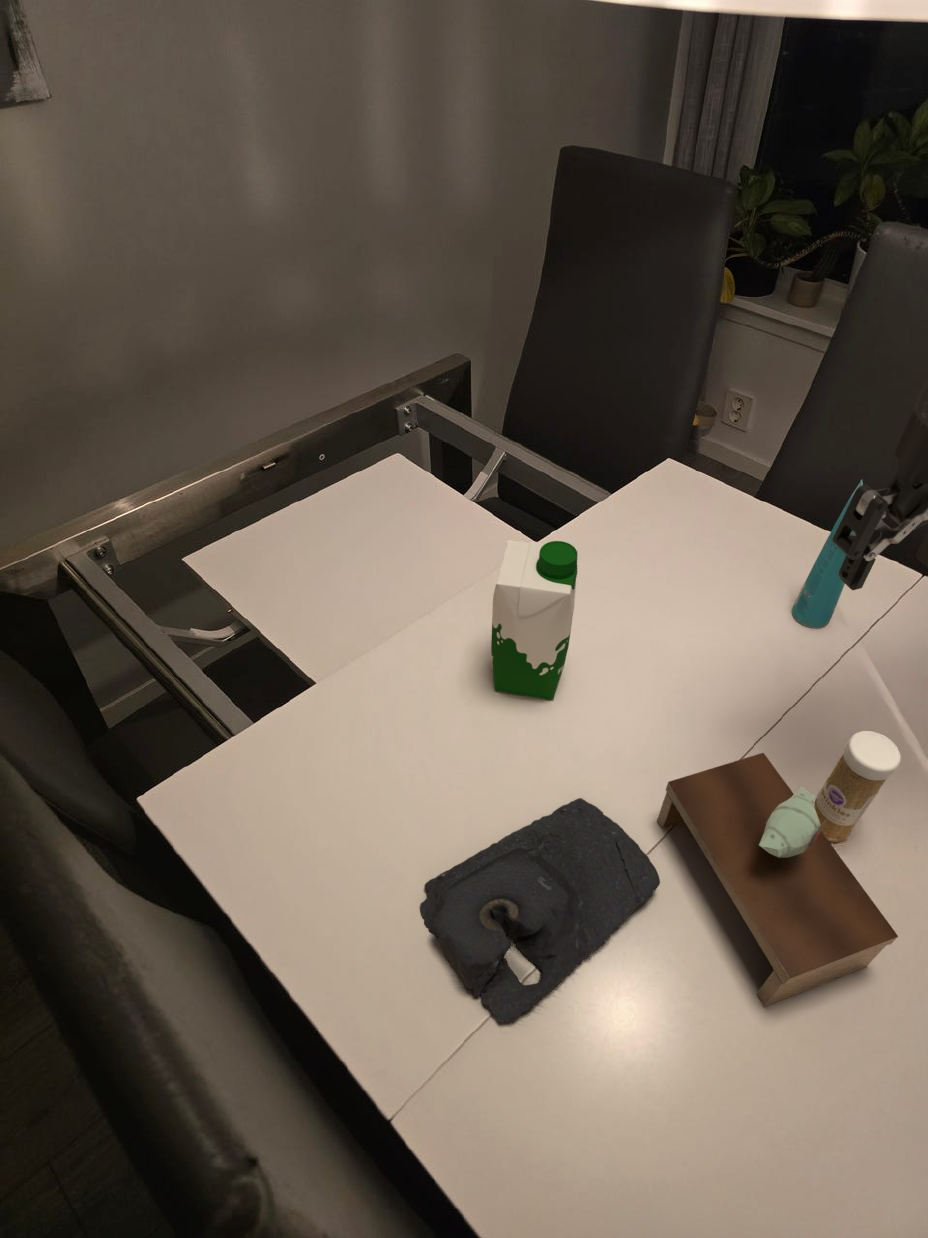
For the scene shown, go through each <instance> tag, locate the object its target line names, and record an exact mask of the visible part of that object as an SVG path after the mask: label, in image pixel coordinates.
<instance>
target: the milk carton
mask: <svg viewBox="0 0 928 1238" xmlns="http://www.w3.org/2000/svg"><path fill="white" fill-rule="evenodd" d="M578 555H579V554H578V548H577V547H575V546H574V545H573V544H571V543H569V542H566V541H563V540H562V541H561V540H552V541H548V542H546V543H542V542H539V541H529V542H528V541H521V540H514V539H507V541H506V545H505V549H504V553H503V556H502V561H501V564H500V568H499V571H498V575H497V579H496V583H495V587H494V591H493V595H492V614H491V616H492V617H491V641H490V656H491V667H492V677H493V686H494V692H496V693H497V692H498V693H504V694H509V695H515V696H516V695H517V696H520V697H521V696H523V697H529V698H534V699H535V698H536V699H542V700H547V701H554V699H555V695H556V692H557V689H558V685H559V682H560V680H561V676H562V674H563V670H564V667H565V664H566V659H567V655H568V651H569V647H570V638H571V632H572V624H573V619H574V618H573V617H574V610H575V600H576V588H577V585H576V584H577V576H578Z"/></svg>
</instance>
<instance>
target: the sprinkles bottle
mask: <svg viewBox="0 0 928 1238" xmlns="http://www.w3.org/2000/svg"><path fill="white" fill-rule="evenodd" d="M842 753H843V754H842V755H841V757H840V758H839V760H838V761H837V762H836V765H835V766H834V768H833V769H832V771H831V773H830V774H829V776H827V778H826V780H825V781H824V783H823V785H822V786H821V788H820V789H819V792H818V794H817V795H816V797H815V805H814V808H815V811H816V813H817V816H818V819H819V821H820V824H821V829H820V830H821V832H822V833H823V834H824V836H825V837H826V838H827V840H828V841H829V842H834V843H838V842H843V841H845V840H847V839H848V838H849V837H850V835H851V833H852V831H853V829H854V827H855V826H856V824H857V823H858V822H859V821H860V820H861V818H862V817H863V815H864V814H865V812H866V811H867V810H868V808H869V806H870V805H871V804H872V802H873V801H874V799H875V798H876V796H877V795H878V793H879V792H880V790H881V788H882V786H883V785H884V783H885V782H886V781H887V780H888V779H890V778H891V777H892V776H893V774H894V773H895V771H896V770H897V769H898V767H899V766H900V763H901V753H900V750H899V748H898V747H897V745H896V744H895V743H894V742H893V740H891V739H890V738H888V737H887V736H885V735H883V734H882V733H879V732H876V731H872V730H861V731H858V732H855V733H854V734H853V735H852V736H850V738H849V739H848V741H847V742H846V744H845V746H844V748H843V752H842Z"/></svg>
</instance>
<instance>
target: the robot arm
mask: <svg viewBox="0 0 928 1238" xmlns="http://www.w3.org/2000/svg"><path fill="white" fill-rule="evenodd" d="M896 444H897V445H896V447H895V448H894V457H895V461H896V473H895V474H894V476H893V478H892V479H891V480H890V481H889V482H888V483H887V485H886V486H885V488H879V489H875V490H874V489H872V488H871V487H870V486H869V485H867V484H863V485H862V486H860V487H859V488H858V489H857V490H856V491H855V490H854V491H855V493H854V495H853V497H852V499H851V501H850V503H849V506H848V508H847V510H846V512H845V514H844V516H843V518H842V520H841V522H840V524H839V526H838V528H837V531H836V533H835V535H834V537H833V539H832V542H833V543H834V544H835V545H837V546H838V547H839V548H840V549H841V550H842V551H843V552H844V553H845V554H846V557H845V559H844V561H843V564H842V566H841V568H840V570H839V577H840V579H841V580H842V581H843V582H844V583H845V585H846V587H848V588H849V589H850V590H851V591H857V590H861V589H862V588H863V587H864V584H865V583H866V581H867V578H868V577H869V574H870V572H871V570H872V568H873V566H874V565H875V562H876V558H877V557H878V556H879V555H880V554H881V553H882V552H883V551H884V550H885V549H886V548H887V547H888V546H889V545H891V544H892V545H893V544H895V545H897V544H900V543H901V542H902V541H903V540H904V539H905V538H906V537H907V536H908V535H910V534H911V533H912V531H914V530H917V529H919V528H922V527H923V526H928V377H927V378H926V379H925V382H924V384H923V386H922V389H921V391H920V393H919V395H918V397H917V400H916V402H915V404H914V406H913V408H912V411H911V413H910V416H909V417H908V420H907V422H906V424H905V426H904V429H903V431H902V433H901V435H900V438H899V439H898V442H897V443H896ZM887 512H888V514H889V516H890V518H891V519H892V520H893V521H894V522H896V523H897V524H898V526H896V527H894V528H891V527H890V526H889V525H887V524H886V523H885V522H884V521H883V519H885V518H886V517H887ZM852 530H853V531H854V533H853V534H852V535H850V533H851V531H852ZM875 531H878V532H879V533H880V535H879V536H878V538H877V539H876V540H874V542H872V543H870V541H871V538H872V537H873V535H874V534H875ZM916 559H917V560H918V561H919V563H921V564H922V565H924V566H925V567H926V568H927V569H928V532H927V533H926V534H925V536H924V538H923V540H922V542H921V544H920V546H919V548H918V549H917V551H916Z"/></svg>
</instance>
